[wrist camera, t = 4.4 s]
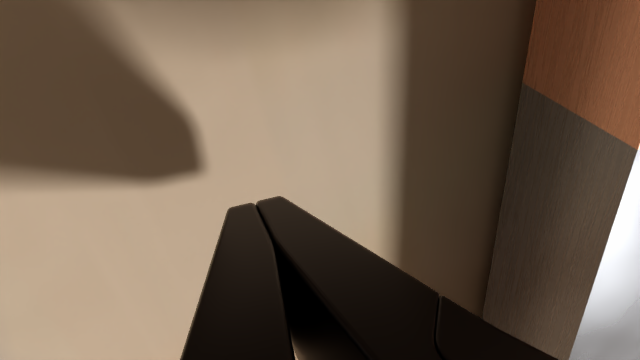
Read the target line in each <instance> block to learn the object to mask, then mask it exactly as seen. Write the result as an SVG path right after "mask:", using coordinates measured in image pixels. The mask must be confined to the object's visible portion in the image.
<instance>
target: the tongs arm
mask: <svg viewBox="0 0 640 360" xmlns="http://www.w3.org/2000/svg"><path fill="white" fill-rule="evenodd" d="M482 319H483V320H485V321H487V322H488V323H490V324H492V325H494V326H495V327H497V328H499V329H501V330H503V331H504V332H506V333H508V334H510V335H512V336H514V337H516V338H518V339H520V340H522V341H524V342H526V343H528V344H529V345H531V346H533V347H535V348H537V349H539V350H541V351H543V352H545V353H547V354H549V355H551V356H553V357H555V358H557V359H559V360H640V0H536V6H535V12H534V18H533V23H532V29H531V35H530V41H529V47H528V53H527V58H526V64H525V70H524V76H523V82H522V88H521V93H520V99H519V105H518V111H517V117H516V123H515V128H514V134H513V140H512V146H511V152H510V158H509V163H508V169H507V175H506V181H505V187H504V193H503V198H502V204H501V210H500V216H499V222H498V228H497V233H496V239H495V245H494V251H493V257H492V263H491V268H490V274H489V280H488V286H487V292H486V298H485V303H484V309H483V315H482Z"/></svg>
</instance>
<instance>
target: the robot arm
mask: <svg viewBox="0 0 640 360" xmlns="http://www.w3.org/2000/svg"><path fill="white" fill-rule="evenodd" d="M293 348H294V350H293ZM294 351H295V353H296V355H297V358H298V360H559V359H557V358H555V357H553V356H551V355H549V354H547V353H545V352H543V351H541V350H539V349H537V348H535V347H533V346H531V345H529V344H528V343H526V342H524V341H522V340H520V339H518V338H516V337H514V336H512V335H510V334H508V333H506V332H504V331H503V330H501V329H499V328H497V327H495V326H494V325H492V324H490V323H488V322H487V321H485V320H483V319H482V318H480V317H478V316H476V315H475V314H473V313H471V312H469V311H468V310H466V309H464V308H463V307H461V306H459V305H458V304H456V303H455V302H453V301H451V300H450V299H448V298H446V297H445V296H440V298H439V293H438V292H436V291H435V290H433V289H431V288H430V287H428V286H427V285H425V284H423V283H422V282H420V281H418V280H417V279H415V278H414V277H412V276H410V275H409V274H407V273H405V272H404V271H402V270H401V269H399V268H397V267H396V266H394V265H392V264H391V263H389V262H388V261H386V260H384V259H383V258H381V257H379V256H378V255H376V254H375V253H373V252H371V251H370V250H368V249H366V248H365V247H363V246H362V245H360V244H358V243H357V242H355V241H353V240H352V239H350V238H349V237H347V236H345V235H344V234H342V233H341V232H339V231H337V230H336V229H334V228H332V227H331V226H329V225H328V224H326V223H324V222H323V221H321V220H319V219H318V218H316V217H315V216H313V215H311V214H310V213H308V212H306V211H305V210H303V209H302V208H300V207H298V206H297V205H295V204H293V203H292V202H290V201H289V200H287V199H285V198H284V197H281V196H277V197H273V198H269V199H264V200H260V201H258V202H257V203H256V205H255V204H253V203H248V204H243V205H239V206H235V207H231V208H229V209H228V211H227V213H226V217H225V220H224V223H223V226H222V229H221V232H220V236H219V239H218V242H217V245H216V248H215V251H214V254H213V258H212V261H211V264H210V267H209V270H208V273H207V277H206V280H205V283H204V286H203V289H202V292H201V295H200V299H199V302H198V305H197V308H196V311H195V314H194V317H193V321H192V324H191V327H190V330H189V333H188V336H187V340H186V343H185V346H184V349H183V352H182V355H181V358H180V360H295V355H294Z"/></svg>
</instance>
